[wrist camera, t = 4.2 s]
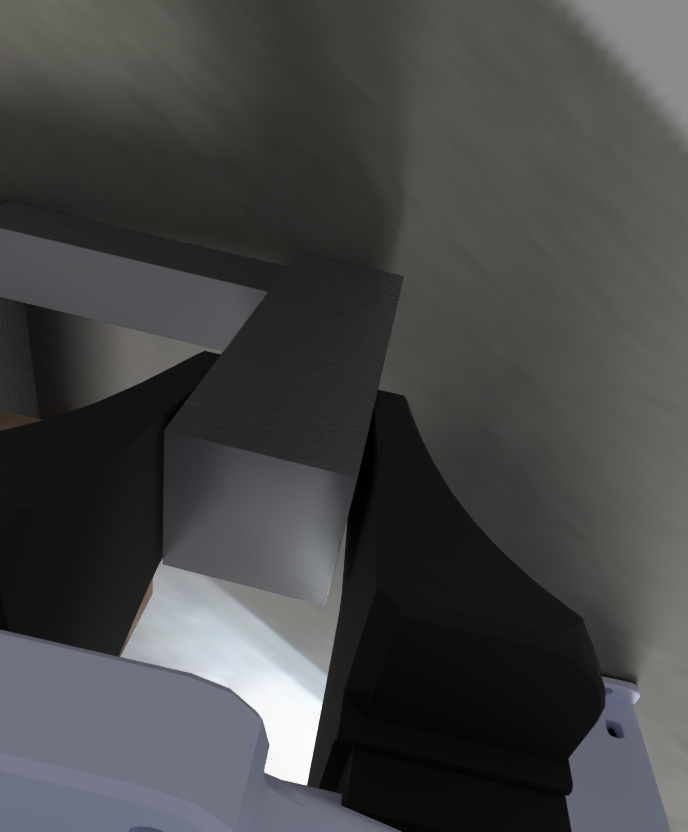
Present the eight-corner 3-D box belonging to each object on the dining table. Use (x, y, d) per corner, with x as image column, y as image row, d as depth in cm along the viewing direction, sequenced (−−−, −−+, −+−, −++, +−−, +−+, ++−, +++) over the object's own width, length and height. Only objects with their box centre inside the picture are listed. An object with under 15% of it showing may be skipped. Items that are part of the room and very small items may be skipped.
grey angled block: (403, 276, 16) (358, 477, 9) (347, 501, 21) (286, 757, 13) (-59, 168, 17) (-477, 271, 9) (-12, 411, 21) (-264, 611, 14)
